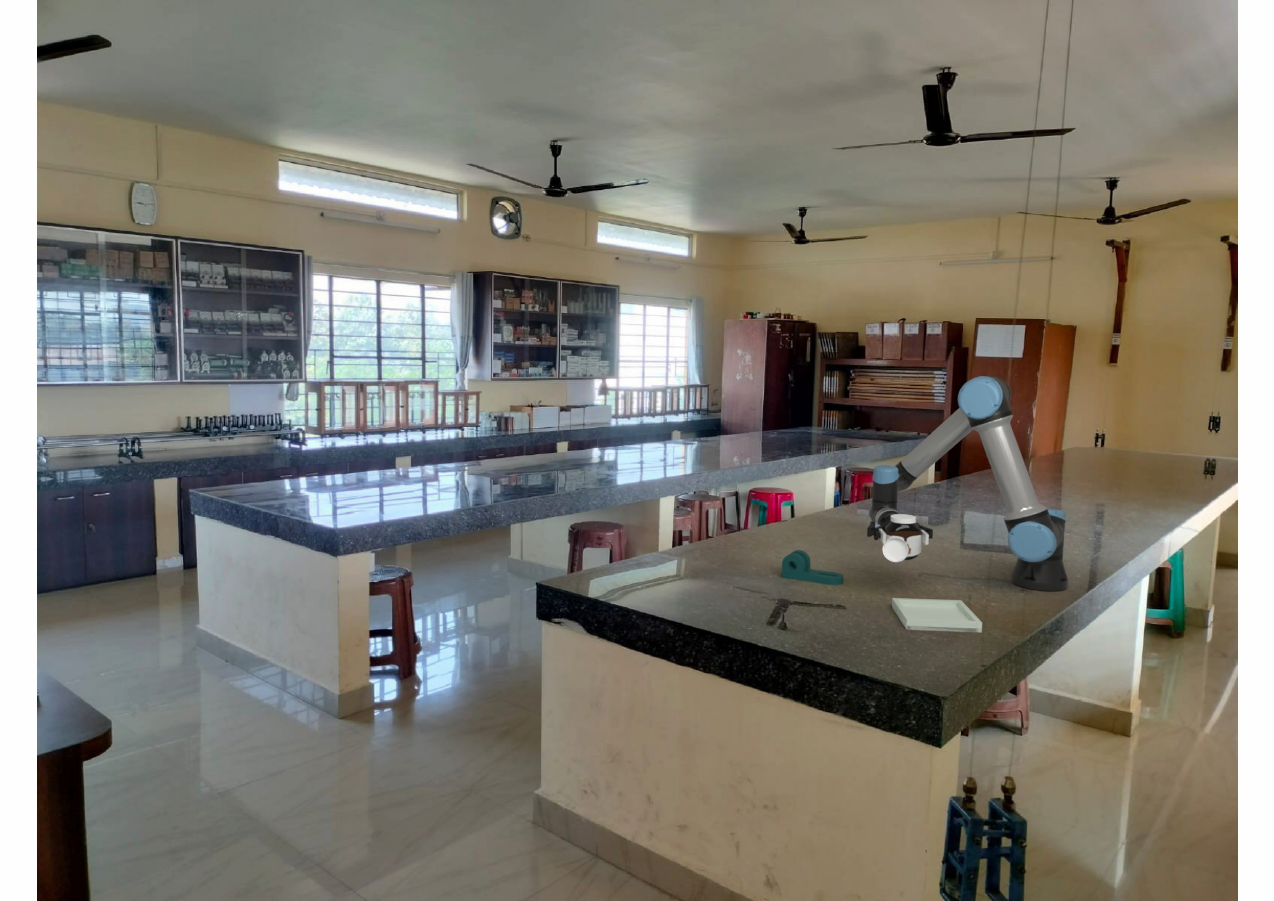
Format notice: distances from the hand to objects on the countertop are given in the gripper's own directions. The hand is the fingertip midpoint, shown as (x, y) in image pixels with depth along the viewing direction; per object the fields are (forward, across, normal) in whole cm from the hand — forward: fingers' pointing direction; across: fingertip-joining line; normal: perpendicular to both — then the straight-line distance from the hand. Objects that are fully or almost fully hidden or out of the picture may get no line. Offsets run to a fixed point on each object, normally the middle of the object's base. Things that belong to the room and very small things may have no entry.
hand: (905, 539), depth 217 cm
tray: (+13, -5, -18) cm, 23 cm away
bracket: (-21, +22, -18) cm, 36 cm away
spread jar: (-4, 0, -7) cm, 8 cm away
